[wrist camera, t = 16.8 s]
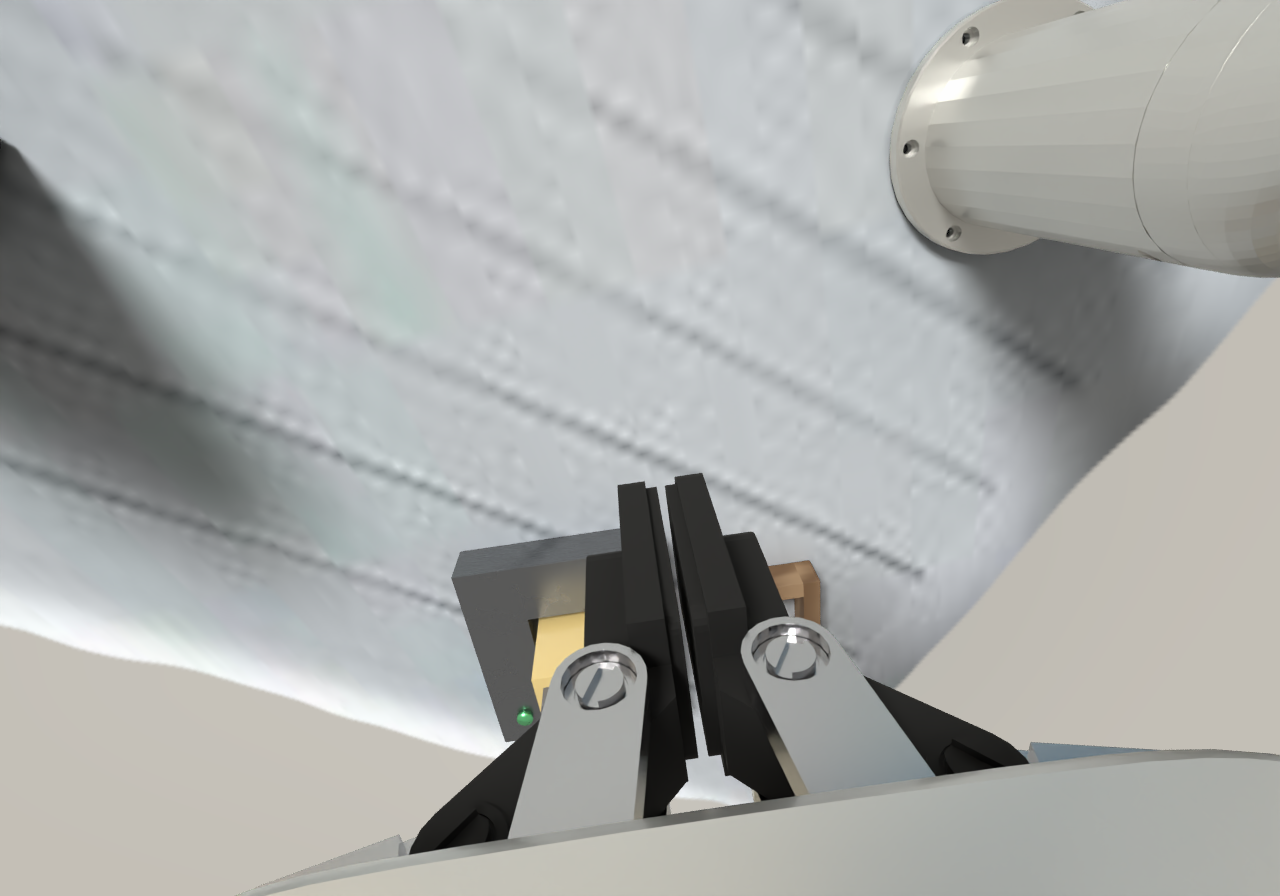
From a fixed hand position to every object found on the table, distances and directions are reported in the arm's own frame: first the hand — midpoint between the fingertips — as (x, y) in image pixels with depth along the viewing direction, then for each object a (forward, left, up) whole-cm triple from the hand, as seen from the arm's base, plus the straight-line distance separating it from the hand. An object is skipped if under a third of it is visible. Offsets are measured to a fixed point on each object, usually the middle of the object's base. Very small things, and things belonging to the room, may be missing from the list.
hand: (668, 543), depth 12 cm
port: (+7, +25, -27) cm, 38 cm away
